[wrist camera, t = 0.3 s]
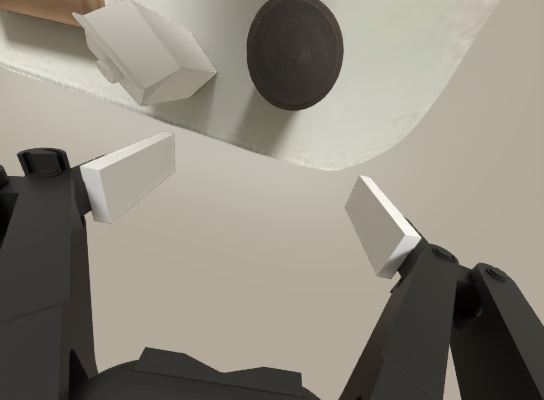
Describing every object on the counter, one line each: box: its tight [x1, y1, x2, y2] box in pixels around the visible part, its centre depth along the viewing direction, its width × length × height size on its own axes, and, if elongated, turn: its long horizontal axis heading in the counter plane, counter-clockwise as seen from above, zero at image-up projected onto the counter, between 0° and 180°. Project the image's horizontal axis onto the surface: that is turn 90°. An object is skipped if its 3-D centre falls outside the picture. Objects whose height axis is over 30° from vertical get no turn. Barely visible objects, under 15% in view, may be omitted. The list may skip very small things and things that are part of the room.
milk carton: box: [72, 0, 217, 106], centre depth 28 cm, size 7×7×19 cm
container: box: [247, 0, 344, 111], centre depth 27 cm, size 9×9×20 cm
